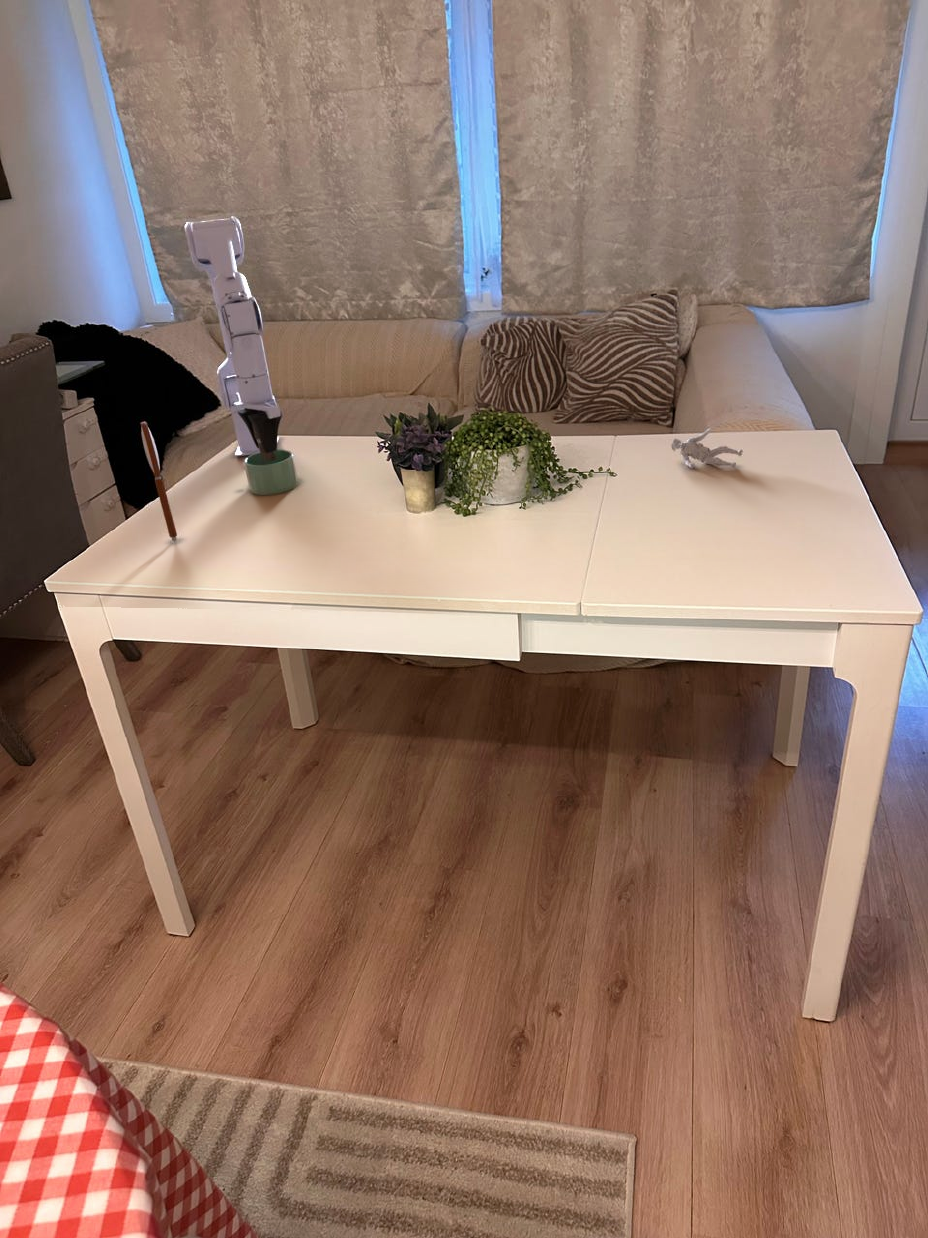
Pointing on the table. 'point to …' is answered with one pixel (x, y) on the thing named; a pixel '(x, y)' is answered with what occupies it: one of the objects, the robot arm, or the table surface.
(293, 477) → the cup
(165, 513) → the magnifying glass
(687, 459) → the soldier figure
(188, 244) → the robot arm
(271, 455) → the brush
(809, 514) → the table surface
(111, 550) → the table surface
